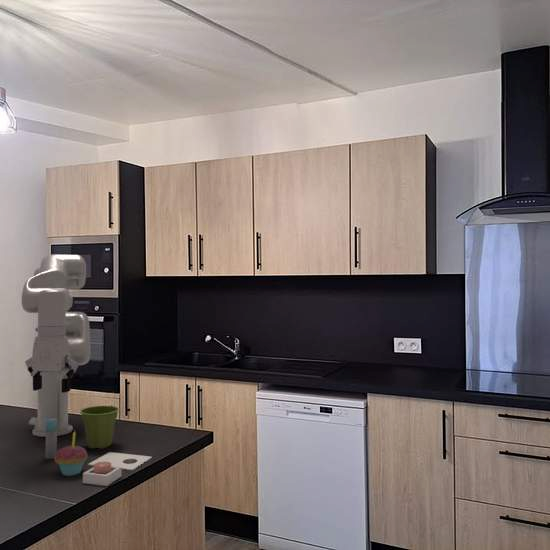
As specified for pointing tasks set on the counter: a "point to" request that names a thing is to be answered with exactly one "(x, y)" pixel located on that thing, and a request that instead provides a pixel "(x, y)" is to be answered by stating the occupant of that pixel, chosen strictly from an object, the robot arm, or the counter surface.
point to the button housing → (102, 476)
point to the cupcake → (71, 458)
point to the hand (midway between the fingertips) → (51, 390)
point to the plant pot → (99, 425)
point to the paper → (122, 460)
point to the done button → (102, 468)
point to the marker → (51, 438)
